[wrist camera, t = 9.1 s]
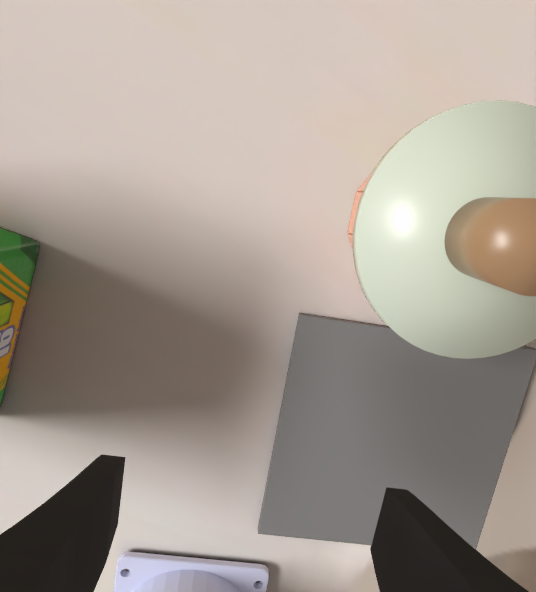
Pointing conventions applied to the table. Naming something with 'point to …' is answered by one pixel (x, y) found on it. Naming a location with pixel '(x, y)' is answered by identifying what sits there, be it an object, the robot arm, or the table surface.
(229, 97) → the table surface
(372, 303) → the lid
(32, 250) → the chalk box
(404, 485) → the mat
